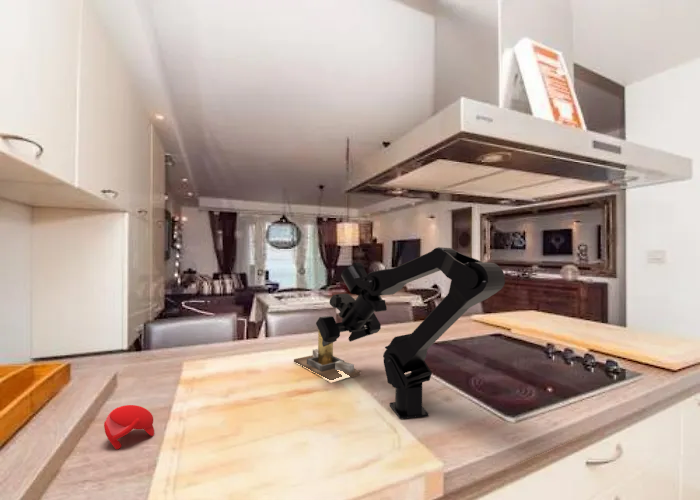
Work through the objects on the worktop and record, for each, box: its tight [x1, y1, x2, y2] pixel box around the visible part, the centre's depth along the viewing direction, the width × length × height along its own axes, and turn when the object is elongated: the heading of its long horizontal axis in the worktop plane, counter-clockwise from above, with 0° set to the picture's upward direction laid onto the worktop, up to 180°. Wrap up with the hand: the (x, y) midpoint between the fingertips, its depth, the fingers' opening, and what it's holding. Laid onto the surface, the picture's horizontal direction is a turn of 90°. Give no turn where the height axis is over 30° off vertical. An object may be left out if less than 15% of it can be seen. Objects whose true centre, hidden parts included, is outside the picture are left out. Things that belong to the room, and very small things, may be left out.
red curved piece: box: [103, 404, 155, 450], centre depth 55 cm, size 8×6×6 cm
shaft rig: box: [293, 348, 361, 380], centre depth 93 cm, size 20×10×3 cm, turn 39°
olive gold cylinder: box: [317, 330, 334, 365], centre depth 93 cm, size 4×4×12 cm
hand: (336, 342), depth 89 cm, fingers open, 9 cm apart
